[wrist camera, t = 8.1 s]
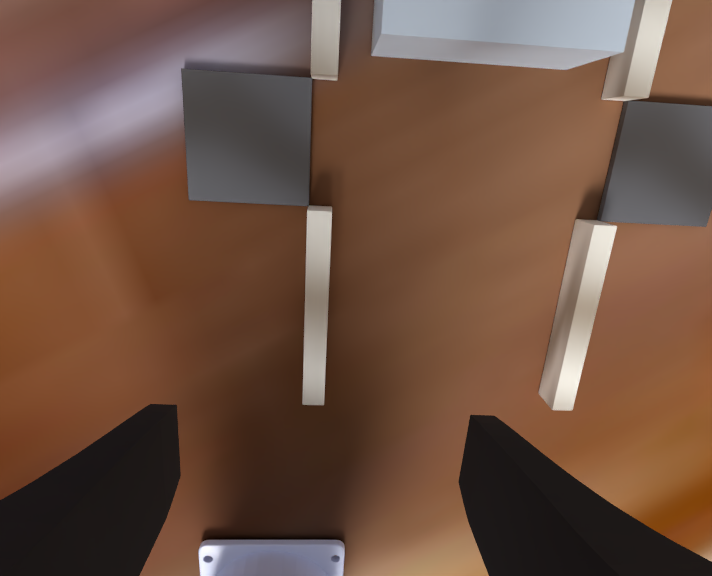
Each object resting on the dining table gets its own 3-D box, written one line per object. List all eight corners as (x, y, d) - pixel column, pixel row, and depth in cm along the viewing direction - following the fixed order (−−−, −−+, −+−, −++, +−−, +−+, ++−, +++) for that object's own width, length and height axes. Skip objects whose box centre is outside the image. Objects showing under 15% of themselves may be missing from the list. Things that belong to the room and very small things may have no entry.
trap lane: (649, 395, 23) (693, 431, 20) (201, 385, 22) (181, 422, 19) (827, -193, 16) (937, -267, 13) (164, -275, 14) (122, -379, 11)
